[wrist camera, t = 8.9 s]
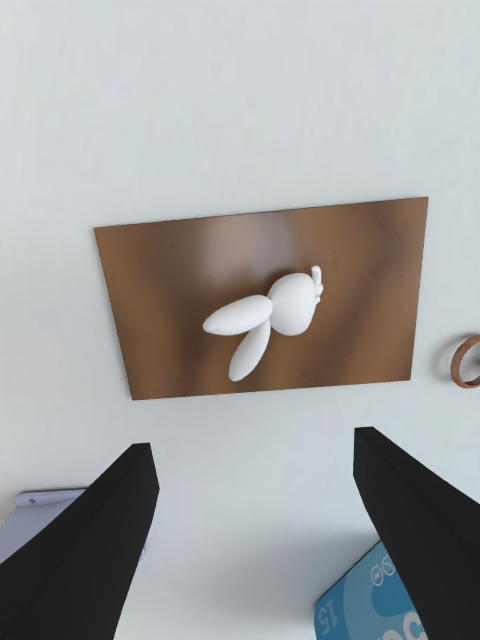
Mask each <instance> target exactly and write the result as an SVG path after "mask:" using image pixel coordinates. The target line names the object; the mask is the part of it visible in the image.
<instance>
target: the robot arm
mask: <svg viewBox="0 0 480 640" xmlns="http://www.w3.org/2000/svg"><path fill="white" fill-rule="evenodd" d="M353 477H354V479H355V482H356V485H357V487H358V490H359V493H360V496H361V498H362V501H363V503H364V506H365V508H366V510H367V512H368V514H369V517H370V519H371V521H372V523H373V525H374V527H375V529H376V531H377V533H378V535H379V537H380V539H381V541H382V543H383V545H384V547H385V549H386V551H387V553H388V555H389V557H390V559H391V561H392V563H393V565H394V567H395V569H396V571H397V573H398V575H399V577H400V579H401V581H402V583H403V585H404V586H405V588H406V590H407V592H408V595H409V597H410V599H411V601H412V603H413V605H414V608H415V610H416V612H417V614H418V616H419V619H420V621H421V623H422V626H423V628H424V631H425V633H426V635H427V638H428V640H480V504H479V503H477V502H476V501H474V500H473V499H471V498H470V497H468V496H467V495H465V494H464V493H462V492H461V491H459V490H458V489H456V488H455V487H453V486H452V485H451V484H449V483H448V482H446V481H445V480H443V479H442V478H441V477H439V476H438V475H436V474H435V473H434V472H432V471H431V470H429V469H428V468H427V467H425V466H424V465H423V464H421V463H420V462H419V461H417V460H416V459H415V458H413V457H412V456H411V455H409V454H408V453H407V452H405V451H404V450H403V449H401V448H400V447H399V446H397V445H396V444H395V443H394V442H392V441H391V440H390V439H388V438H387V437H386V436H384V435H383V434H382V433H381V432H379V431H378V430H377V429H375V428H374V427H359V428H355V431H354V462H353ZM159 489H160V488H159V483H158V478H157V474H156V469H155V465H154V460H153V455H152V451H151V446H150V443H137V444H132V445H131V446H130V447H129V448H128V449H127V450H126V451H125V452H124V453H123V454H122V455H121V456H120V457H119V458H118V459H117V460H116V461H115V462H114V463H113V464H112V465H111V466H110V467H109V468H108V469H107V470H106V471H105V472H104V473H102V474H101V475H100V476H99V477H98V478H97V479H96V480H95V481H94V482H93V483H92V484H91V485H90V486H89V487H88V488H87V489H83V490H67V491H51V492H35V493H21V494H19V495H18V496H17V497H16V498H15V504H16V506H17V508H16V509H15V511H14V512H13V513H12V514H11V515H10V517H9V518H8V519H7V520H6V521H5V522H4V524H3V525H2V526H1V527H0V640H113V639H114V635H115V631H116V628H117V625H118V621H119V618H120V615H121V612H122V608H123V606H124V603H125V600H126V597H127V594H128V591H129V588H130V585H131V582H132V579H133V576H134V573H135V571H136V568H137V565H138V562H139V561H140V560H142V559H143V558H144V556H145V550H144V544H145V541H146V538H147V535H148V532H149V529H150V526H151V523H152V520H153V516H154V511H155V507H156V503H157V498H158V493H159Z"/></svg>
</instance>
